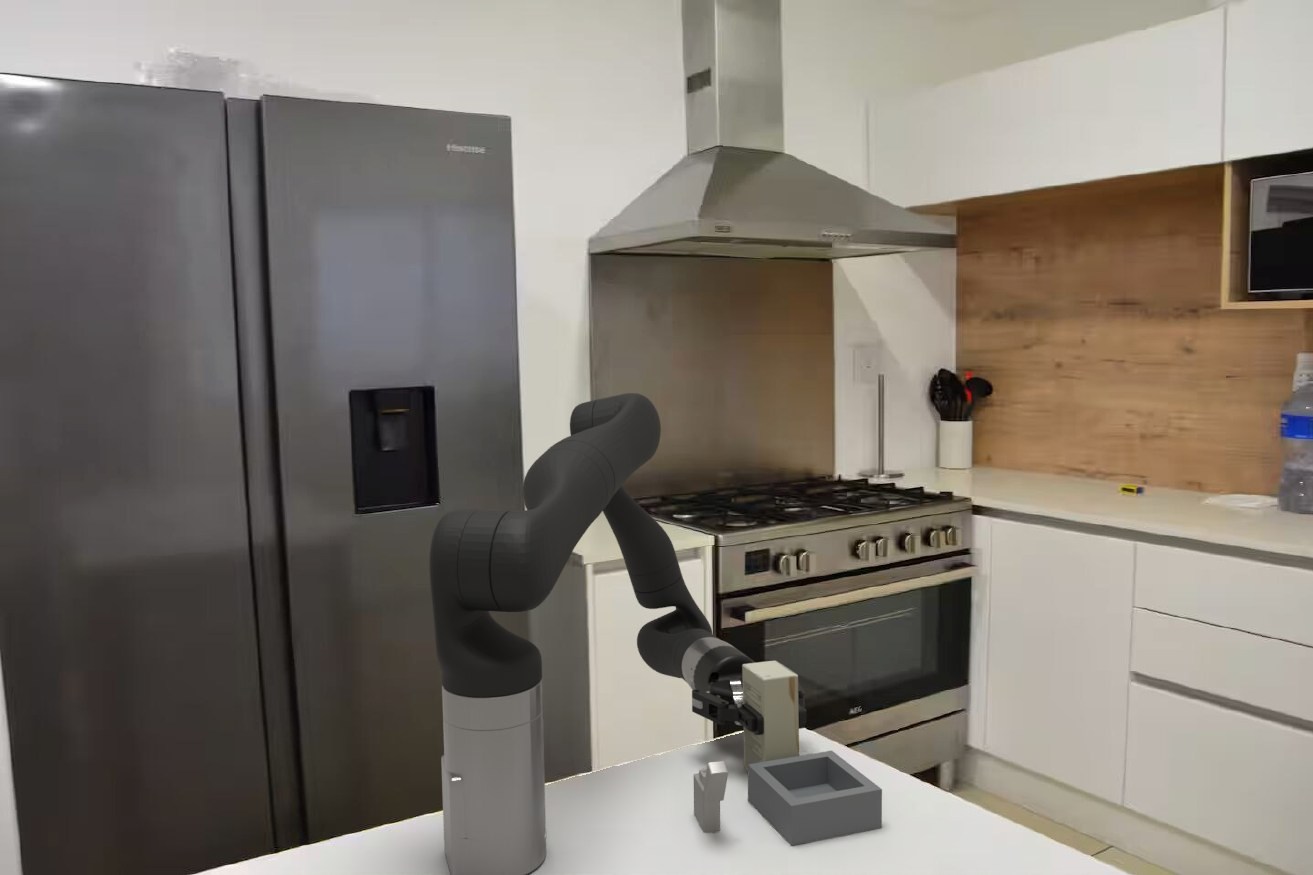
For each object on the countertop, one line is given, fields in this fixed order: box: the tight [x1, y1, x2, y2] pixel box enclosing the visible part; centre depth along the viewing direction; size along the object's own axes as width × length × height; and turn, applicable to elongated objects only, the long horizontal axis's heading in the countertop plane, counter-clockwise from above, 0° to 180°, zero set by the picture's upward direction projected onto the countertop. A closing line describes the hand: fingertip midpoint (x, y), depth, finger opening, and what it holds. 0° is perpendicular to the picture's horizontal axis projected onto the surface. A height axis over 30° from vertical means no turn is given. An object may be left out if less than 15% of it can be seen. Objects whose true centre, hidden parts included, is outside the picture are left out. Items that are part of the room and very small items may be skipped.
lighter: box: [693, 760, 729, 834], centre depth 98 cm, size 7×2×8 cm, turn 12°
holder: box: [747, 750, 883, 847], centre depth 101 cm, size 10×10×4 cm
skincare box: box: [742, 660, 800, 772], centre depth 110 cm, size 6×4×12 cm
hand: (781, 722), depth 107 cm, fingers closed on skincare box, 4 cm apart
